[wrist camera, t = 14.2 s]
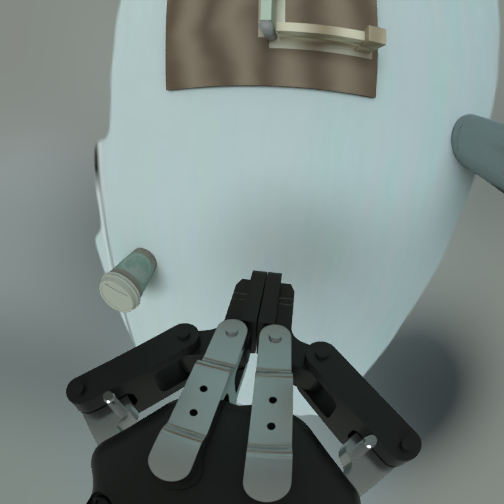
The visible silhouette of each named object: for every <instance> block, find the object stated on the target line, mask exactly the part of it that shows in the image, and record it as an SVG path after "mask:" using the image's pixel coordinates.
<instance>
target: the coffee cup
mask: <svg viewBox="0 0 504 504" xmlns="http://www.w3.org/2000/svg"><path fill="white" fill-rule="evenodd" d="M155 268H156V260H155V258H154V256H153V255H152V254H151V253H150V252H149V251H148V250H146V249H142V248H138V249H135V250H134V251H133V252H132V253H131V254H129V255H128V256H127V257H126V258H125V259H124V260H122V261H121V262H120V263H119V264H118V265H117V266H116V267H114V268H113V269H112V270H111V271H110V272H107V273H105V274H104V275H103V277H102V279H101V283H100V286H99V290H100V294H101V296H102V298H103V299H104V301H105V302H106V303H107V304H108V305H109V306H111V307H112V308H114V309H115V310H117V311H120V312H130V311H131V310H133V309H135V308H136V307H137V306H138V305H139V304H140V298H141V296H142V294H143V292H144V290H145V288H146V286H147V284H148V282H149V280H150V278H151V276H152V274H153V272H154V270H155Z"/></svg>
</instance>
